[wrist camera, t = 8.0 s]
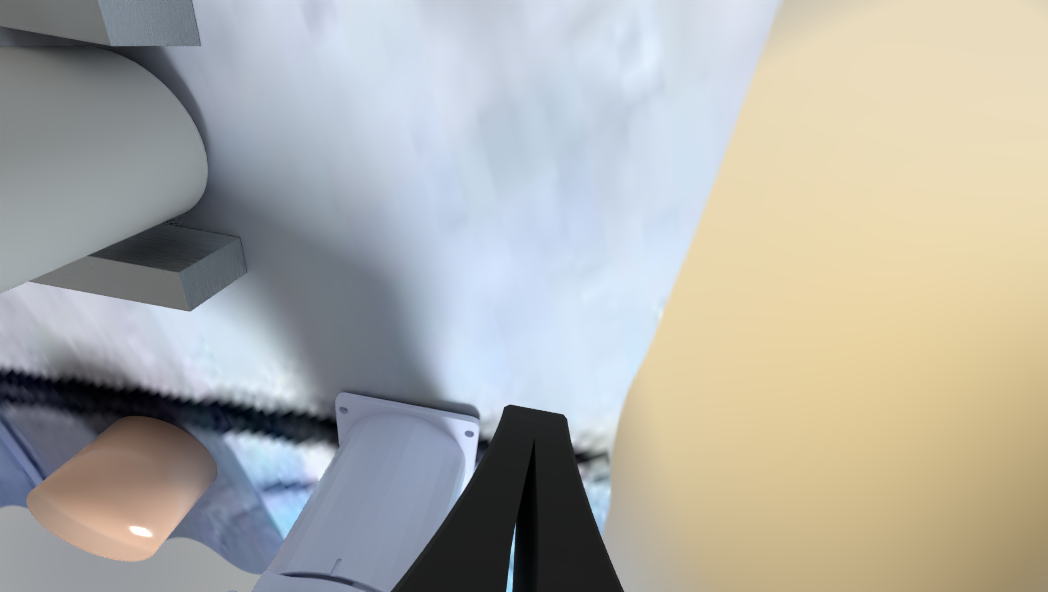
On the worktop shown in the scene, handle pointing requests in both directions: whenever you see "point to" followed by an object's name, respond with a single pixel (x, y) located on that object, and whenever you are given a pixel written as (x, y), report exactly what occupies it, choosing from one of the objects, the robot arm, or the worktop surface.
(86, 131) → the beverage can
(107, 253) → the grey piece
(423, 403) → the worktop surface
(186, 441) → the peach cylinder plug
